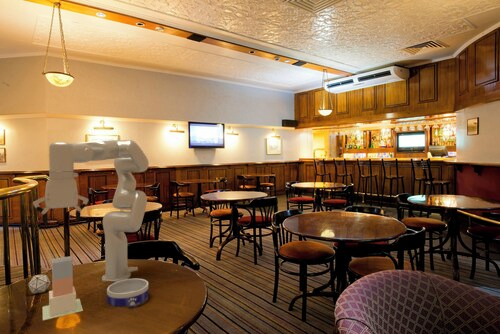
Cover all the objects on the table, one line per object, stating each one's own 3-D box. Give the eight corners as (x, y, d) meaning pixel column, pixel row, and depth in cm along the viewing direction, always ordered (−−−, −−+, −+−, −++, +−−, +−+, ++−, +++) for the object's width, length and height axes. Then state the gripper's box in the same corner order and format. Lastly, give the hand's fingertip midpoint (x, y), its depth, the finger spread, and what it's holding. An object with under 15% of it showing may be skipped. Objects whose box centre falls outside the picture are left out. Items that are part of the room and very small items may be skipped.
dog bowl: (117, 313, 109) (117, 297, 109) (100, 301, 120) (100, 285, 120) (155, 300, 120) (155, 284, 120) (137, 289, 131) (137, 275, 131)
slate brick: (71, 271, 115) (71, 256, 115) (72, 276, 110) (72, 260, 110) (52, 275, 112) (52, 258, 111) (52, 280, 107) (52, 263, 107)
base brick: (74, 301, 116) (73, 286, 116) (76, 309, 110) (75, 293, 110) (49, 307, 112) (49, 291, 112) (49, 316, 105) (49, 299, 105)
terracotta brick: (71, 287, 115) (71, 271, 115) (72, 293, 110) (72, 276, 110) (52, 291, 112) (52, 275, 112) (53, 297, 107) (53, 280, 107)
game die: (40, 303, 125) (34, 290, 119) (24, 294, 127) (18, 281, 121) (58, 286, 132) (54, 272, 126) (43, 278, 134) (38, 264, 128)
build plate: (79, 301, 119) (79, 298, 119) (82, 313, 109) (82, 310, 109) (42, 309, 112) (42, 306, 112) (42, 323, 102) (42, 320, 102)
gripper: (87, 175, 118) (87, 219, 119) (32, 176, 109) (33, 224, 109) (89, 176, 112) (89, 222, 112) (32, 177, 102) (32, 227, 103)
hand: (61, 223), depth 111 cm, fingers open, 9 cm apart
